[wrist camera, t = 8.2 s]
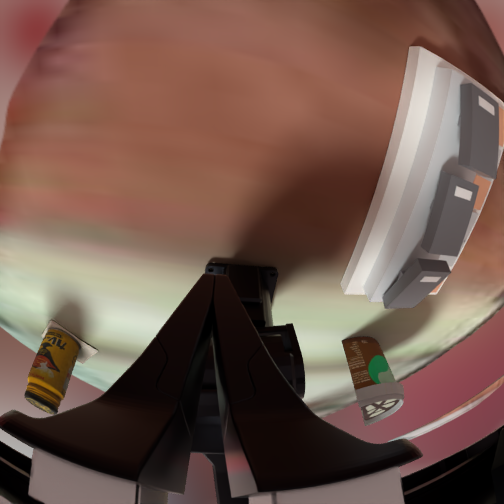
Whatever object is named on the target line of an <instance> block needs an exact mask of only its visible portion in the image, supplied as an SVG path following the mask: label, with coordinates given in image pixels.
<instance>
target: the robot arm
mask: <svg viewBox="0 0 504 504" xmlns="http://www.w3.org/2000/svg"><path fill="white" fill-rule="evenodd" d="M209 268H213V269H212V270H211V269H209ZM272 272H274V273H273V274H271V273H272ZM277 277H278V270H277V269H276V268H274V267H261V266H247V265H232V264H219V263H208V264H207V265H206V268H205V274H203V275H202V276H201V277H200V279H199V280H198V281H197V282H196V284H195V285H194V286H193V288H192V289H191V290H190V291H189V293H188V294H187V295H186V297H185V298H184V299H183V301H182V302H181V303H180V304H179V306H178V307H177V308H176V310H175V311H174V312H173V314H172V315H171V316H170V318H169V319H168V320H167V322H166V323H165V324H164V326H163V327H162V328H161V330H160V331H159V332H158V334H157V335H156V337H155V338H154V339H153V340H152V341H151V343H150V344H149V345H148V347H147V348H146V349H145V350H144V352H143V353H142V354H141V355H140V357H139V358H138V359H137V360H136V361H135V362H134V363H133V364H132V365H131V366H130V367H129V368H128V369H127V370H126V372H125V373H124V374H123V375H122V376H121V377H120V378H119V379H118V380H117V381H116V382H115V383H114V384H113V385H112V386H111V387H110V388H109V389H108V390H107V391H106V392H105V393H104V394H103V395H101V396H100V397H99V398H97V399H96V400H94V401H92V402H89V403H87V404H84V405H81V406H79V407H76V408H73V409H70V410H68V411H65V412H62V413H59V414H56V415H53V416H50V417H46V418H32V417H29V416H27V415H25V414H23V413H21V412H19V411H16V410H11V411H9V412H7V413H5V414H3V415H2V416H1V417H0V428H1V429H2V430H4V431H5V432H7V433H8V434H10V435H11V436H13V437H15V438H16V439H18V440H20V441H21V442H23V443H25V444H27V445H28V446H30V447H32V448H34V450H33V455H32V459H31V458H29V457H27V456H25V455H23V454H22V453H20V452H18V451H16V450H15V449H13V448H11V447H10V446H8V445H6V444H5V443H3V442H1V441H0V504H167V502H168V501H167V500H168V493H174V494H184V491H185V484H186V477H187V471H188V465H189V459H190V453H202V454H203V455H204V456H205V457H206V458H207V459H208V460H209V462H210V463H211V464H212V467H213V473H214V481H215V489H216V497H217V503H218V504H504V425H502V426H501V427H500V428H498V429H496V430H495V431H493V432H492V433H490V434H489V435H487V436H485V437H484V438H482V439H480V440H479V441H477V442H475V443H473V444H472V445H470V446H468V447H466V448H464V449H463V450H461V451H459V452H457V453H455V454H453V455H451V456H449V457H447V458H445V459H443V460H441V461H438V462H436V463H434V464H432V465H430V466H428V467H426V468H423V469H421V470H419V471H417V472H414V473H412V474H409V475H407V476H404V477H402V478H401V474H400V470H399V467H400V466H402V465H405V464H407V463H410V462H412V461H414V460H416V459H419V458H421V457H422V456H423V454H422V452H421V451H420V450H419V448H418V447H416V446H415V445H414V444H413V443H411V442H410V441H408V440H407V439H398V440H394V441H391V442H388V443H383V444H373V443H368V442H365V441H363V440H360V439H358V438H356V437H354V436H352V435H350V434H349V433H347V432H345V431H343V430H341V429H339V428H337V427H335V426H333V425H332V424H330V423H328V422H326V421H324V420H322V419H321V418H319V417H318V416H317V415H315V414H314V413H313V412H312V411H311V410H310V409H309V408H308V407H307V405H306V404H305V403H304V402H303V401H302V398H304V394H305V371H304V363H303V358H302V354H301V350H300V347H299V343H298V340H297V336H296V333H295V330H294V326H293V323H291V324H286V325H281V326H273V320H272V311H271V302H272V298H273V294H274V290H275V286H276V282H277Z"/></svg>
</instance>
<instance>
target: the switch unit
mask: <svg viewBox="0 0 504 504" xmlns="http://www.w3.org/2000/svg"><path fill="white" fill-rule="evenodd" d="M467 83H472V84H474V85H475V86H476V87H478V88H479V89H481V90H482V91H483V92H485V93H486V94H487V95H489V96H490V97H491V98H492V99H494V100H495V101H496V102H497V103H499V151H498V165H499V162H500V159H501V156H502V152H503V149H504V102H502V101H501V100H500V99H499V98H498V97H496V96H495V95H494V94H493V93H491V92H490V91H489V90H488V89H486V88H485V87H484V86H482V85H481V84H480V83H478V82H477V81H476V80H474V79H473V78H471V77H470V76H469V75H467V74H466V73H464V72H463V71H461V70H460V69H458V68H457V67H455V66H454V65H452V64H450V63H449V62H447V61H445V60H444V59H442V58H440V57H439V56H437V55H435V54H433V53H432V52H430V51H428V50H426V49H424V48H422V47H421V46H410V47H409V52H408V59H407V65H406V71H405V76H404V82H403V87H402V92H401V97H400V101H399V106H398V110H397V115H396V119H395V123H394V127H393V131H392V135H391V139H390V142H389V146H388V150H387V153H386V157H385V160H384V164H383V167H382V171H381V174H380V177H379V180H378V184H377V187H376V190H375V193H374V196H373V199H372V202H371V205H370V208H369V211H368V214H367V216H366V219H365V222H364V225H363V228H362V230H361V233H360V236H359V238H358V241H357V244H356V246H355V249H354V251H353V254H352V256H351V259H350V261H349V264H348V266H347V269H346V271H345V274H344V276H343V278H342V281H341V283H340V284H341V287H342V289H343V292H344V294H363V295H367V297H368V300H369V302H383V299H382V297H383V296H384V294H385V293H386V292H387V291H388V290H389V289H390V288H391V287H392V286H393V285H394V284H395V283H396V282H397V281H398V280H399V278H400V277H401V276H402V275H403V274H404V273H405V272H406V271H407V269H408V268H409V267H410V266H411V265H412V264H413V263H414V261H415V260H416V259H417V258H423V259H433V260H444V261H447V264H448V266H449V268H450V271H451V270H452V268H453V266H454V265H455V263H456V261H457V259H458V257H459V255H460V254H461V252H462V250H463V248H464V246H465V244H466V242H467V240H468V238H469V236H470V234H471V232H472V230H473V228H474V226H475V224H476V222H477V219H478V217H479V215H480V213H481V210H482V208H483V206H484V203H485V201H486V198H487V196H488V193H489V191H490V188H491V185H492V183H493V180H494V179H492V178H487V177H484V176H482V175H480V174H478V173H476V172H473V171H471V170H469V169H467V168H465V167H462V166H460V165H458V157H459V145H460V125H461V94H460V85H461V84H467ZM498 165H497V168H498ZM441 171H443V172H446V173H449V174H451V175H454V176H457V177H459V178H462V179H464V180H467V181H469V182H471V183H474V184H476V185H478V186H479V189H478V193H477V197H476V201H475V205H474V208H473V212H472V215H471V218H470V222H469V225H468V228H467V231H466V234H465V237H464V240H463V243H462V246H461V248H460V251H459V254H458V256H457V257H455V256H446V255H437V254H429V253H428V252H426V251H425V250H424V249H423V248H422V247H420V246H421V243H422V240H423V237H424V234H425V231H426V227H427V224H428V221H429V217H430V214H431V210H432V207H433V203H434V199H435V196H436V192H437V187H438V183H439V179H440V174H441ZM447 277H448V276H447ZM447 277H446V278H447ZM446 278H445V279H444V280H443V281H442V282H441V283H440V284H439V285H438V286H437V287H436V288H435V289H434V290H433V291H432V292H431V293H429V294H428V295H434V294H437V293H438V291H439V290H440V288H441V286H442V285H443V283H444V281H445V280H446Z"/></svg>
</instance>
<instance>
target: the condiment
mask: <svg viewBox="0 0 504 504" xmlns="http://www.w3.org/2000/svg"><path fill="white" fill-rule="evenodd" d="M42 337H43V338H44V339H43V341H42V344H41V346H40V348H39V350H38V353H37V355H36V358H35V360H34V362H33V365H32V368H31V370H30V372H29V376H28V382H29V384H28V385H27V389H26V392H25V398H26V400H27V401H29V402H30V403H31V404H32V405H34V406H35V407H37V408H39V409H41V410H43V411H45V412H47V413H50V414H54V415H55V414H57V412H58V407H59V406H60V401H61V400H63V398H64V397H65V393H66V390H67V387H68V383H69V380H70V377H71V374H72V371H73V368H74V366H75V362H76V360H77V361H79V362H81V363H82V364H83V363H84V362H85V361H86V360H88V359H89V358H90V357H91V356H93V355H94V354H95V353H97V352H98V351H97V350H96V349H94V348H92V347H91V346H89V345H87V344H86V343H84V342H83V341H81V340H80V339H78V338H77V337H76V336H74V335H73V334H71V333H70V332H68V331H67V330H66V329H64V328H63V327H61V326H60V325H58V324H57V323H56V322H54V321H52V320H51V321H50V322H49V324H48V326H47V327H46V329H45V331H44V332H43V334H42ZM81 346H82V347H83V348H82V347H81Z"/></svg>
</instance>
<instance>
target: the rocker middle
mask: <svg viewBox="0 0 504 504" xmlns="http://www.w3.org/2000/svg"><path fill="white" fill-rule="evenodd" d="M478 189H479V186H478V185H476V184H474V183H471V182H469V181H467V180H464V179H462V178H459V177H457V176H454V175H451V174H449V173H446V172H443V171H441V174H440V179H439V183H438V187H437V192H436V196H435V199H434V203H433V207H432V210H431V214H430V217H429V221H428V224H427V227H426V231H425V234H424V237H423V240H422V243H421V246H420V247H422V248H423V249H424V250H425V251H426V252H428V253H429V254H437V255H446V256H455V257H457V256H458V254H459V251H460V248H461V246H462V243H463V240H464V237H465V234H466V231H467V228H468V225H469V222H470V218H471V215H472V212H473V208H474V205H475V201H476V197H477V193H478Z"/></svg>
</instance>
